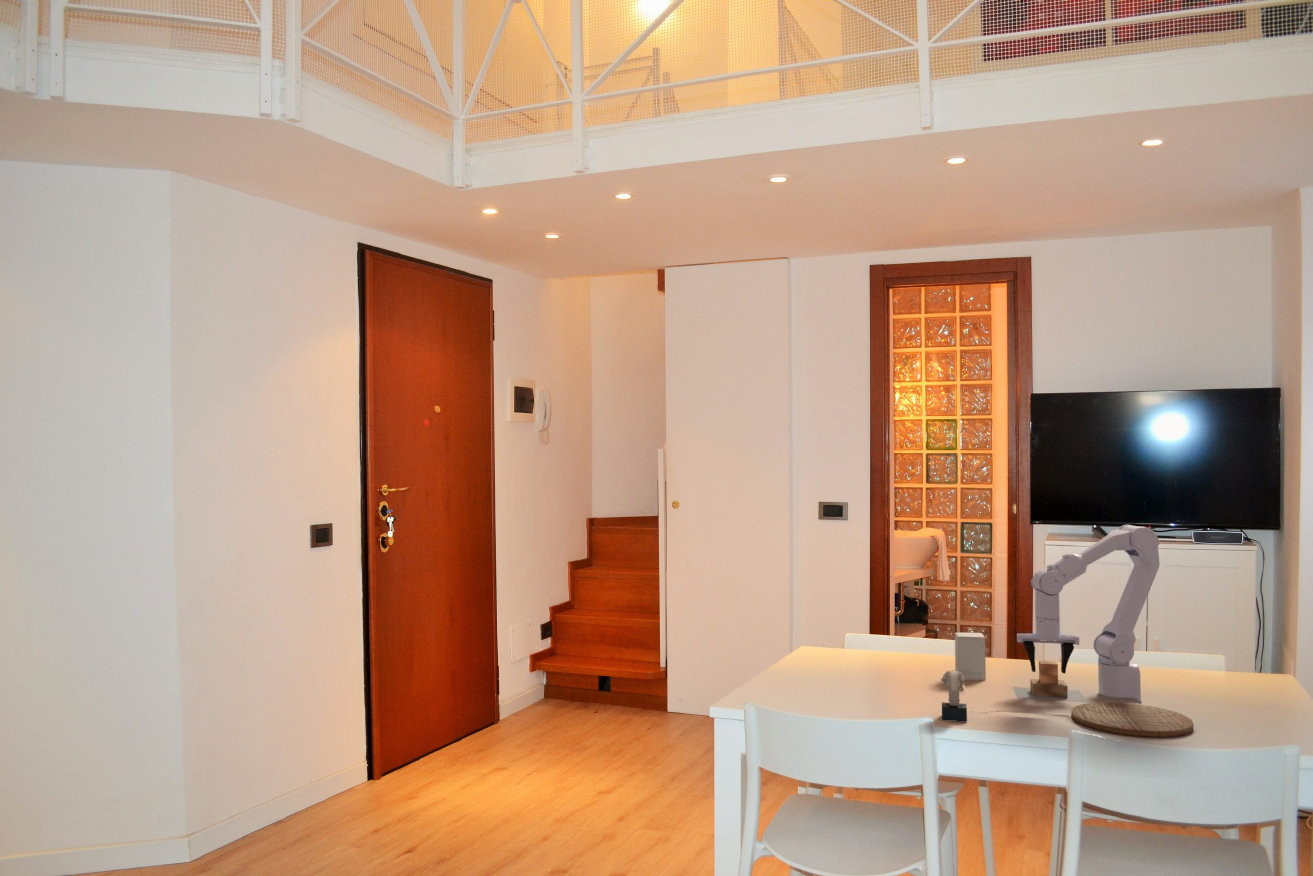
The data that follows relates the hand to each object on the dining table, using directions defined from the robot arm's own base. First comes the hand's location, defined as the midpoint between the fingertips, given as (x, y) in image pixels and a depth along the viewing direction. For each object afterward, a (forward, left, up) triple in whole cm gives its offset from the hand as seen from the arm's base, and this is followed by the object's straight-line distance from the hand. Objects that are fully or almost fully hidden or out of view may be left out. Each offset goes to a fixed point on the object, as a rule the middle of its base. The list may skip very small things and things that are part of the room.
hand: (1048, 671), depth 243 cm
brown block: (0, 0, -6) cm, 6 cm away
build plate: (0, 0, -7) cm, 7 cm away
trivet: (-15, +20, -7) cm, 26 cm away
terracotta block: (0, 0, -3) cm, 3 cm away
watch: (+24, +26, -7) cm, 36 cm away
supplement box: (+18, -16, -7) cm, 25 cm away
